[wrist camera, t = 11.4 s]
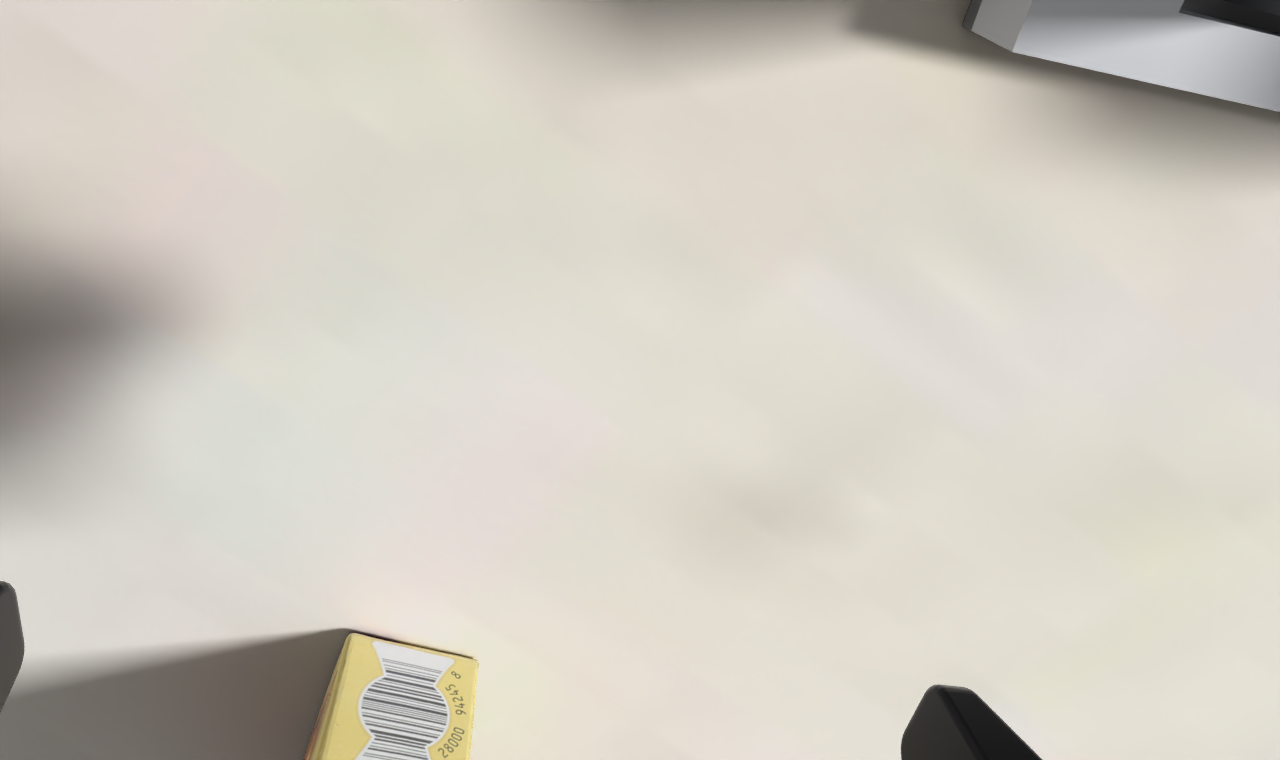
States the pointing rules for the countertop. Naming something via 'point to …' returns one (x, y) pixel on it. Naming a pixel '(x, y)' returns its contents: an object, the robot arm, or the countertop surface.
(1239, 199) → the countertop surface
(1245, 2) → the orange grey tall block
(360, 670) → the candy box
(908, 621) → the countertop surface
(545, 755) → the countertop surface
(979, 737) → the robot arm
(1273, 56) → the light grey recessed block
